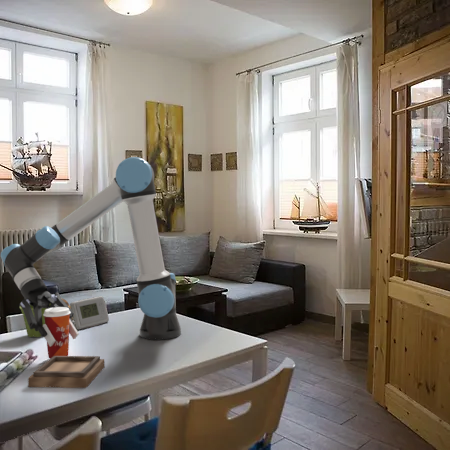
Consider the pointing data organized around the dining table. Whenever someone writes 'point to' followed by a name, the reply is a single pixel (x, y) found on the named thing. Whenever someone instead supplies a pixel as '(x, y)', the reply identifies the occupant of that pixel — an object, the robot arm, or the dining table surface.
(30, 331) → the plant pot
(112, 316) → the dining table surface
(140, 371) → the dining table surface
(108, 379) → the dining table surface
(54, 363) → the walnut base plate
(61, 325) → the coffee cup
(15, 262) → the robot arm
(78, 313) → the digital clock
